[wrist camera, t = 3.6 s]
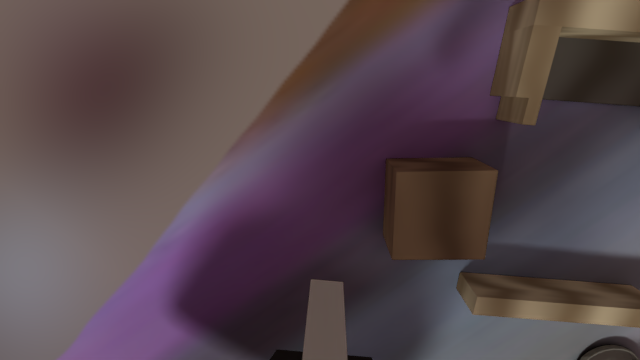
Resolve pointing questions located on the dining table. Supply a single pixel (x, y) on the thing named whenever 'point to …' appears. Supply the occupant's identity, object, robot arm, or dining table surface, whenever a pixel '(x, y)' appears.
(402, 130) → the dining table surface
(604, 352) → the pocket watch
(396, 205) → the block
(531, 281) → the brown wooden pieces
